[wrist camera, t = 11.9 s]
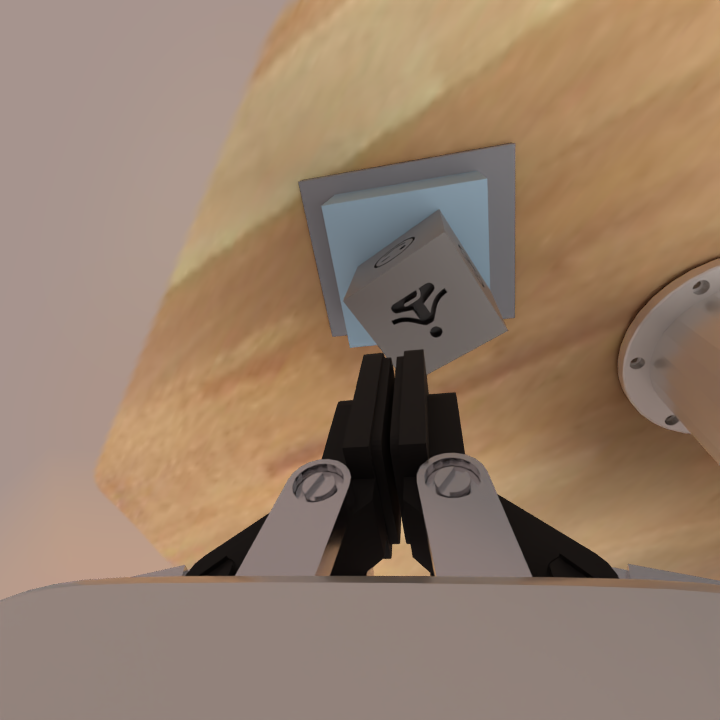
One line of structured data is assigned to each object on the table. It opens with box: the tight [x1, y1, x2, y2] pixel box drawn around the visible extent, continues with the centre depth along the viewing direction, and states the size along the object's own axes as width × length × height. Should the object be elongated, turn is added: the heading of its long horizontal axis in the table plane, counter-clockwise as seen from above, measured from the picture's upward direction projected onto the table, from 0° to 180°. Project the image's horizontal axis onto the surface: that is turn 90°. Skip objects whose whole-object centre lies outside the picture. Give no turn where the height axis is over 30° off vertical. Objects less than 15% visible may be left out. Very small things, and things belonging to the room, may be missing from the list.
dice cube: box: [343, 209, 508, 374], centre depth 20 cm, size 5×5×5 cm
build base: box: [298, 143, 515, 348], centre depth 24 cm, size 12×10×5 cm
